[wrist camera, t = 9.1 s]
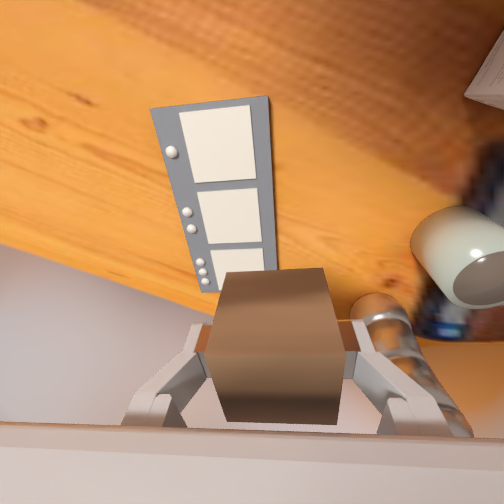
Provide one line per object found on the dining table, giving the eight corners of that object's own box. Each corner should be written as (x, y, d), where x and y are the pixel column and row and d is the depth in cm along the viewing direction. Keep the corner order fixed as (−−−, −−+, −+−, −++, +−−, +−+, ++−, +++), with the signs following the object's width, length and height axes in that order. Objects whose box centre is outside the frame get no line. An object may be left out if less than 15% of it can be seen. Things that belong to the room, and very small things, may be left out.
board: (153, 108, 22) (148, 109, 21) (267, 95, 21) (267, 96, 20) (202, 288, 34) (200, 294, 33) (278, 286, 32) (278, 292, 31)
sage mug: (420, 207, 25) (464, 246, 19) (497, 204, 24) (567, 243, 18) (402, 263, 29) (434, 310, 23) (469, 262, 28) (519, 310, 22)
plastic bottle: (349, 325, 35) (414, 538, 19) (342, 291, 32) (413, 514, 15) (399, 317, 34) (517, 542, 17) (397, 280, 30) (541, 516, 14)
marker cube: (226, 272, 12) (203, 355, 8) (322, 267, 11) (346, 355, 8) (239, 334, 14) (226, 421, 11) (319, 333, 14) (336, 425, 10)
